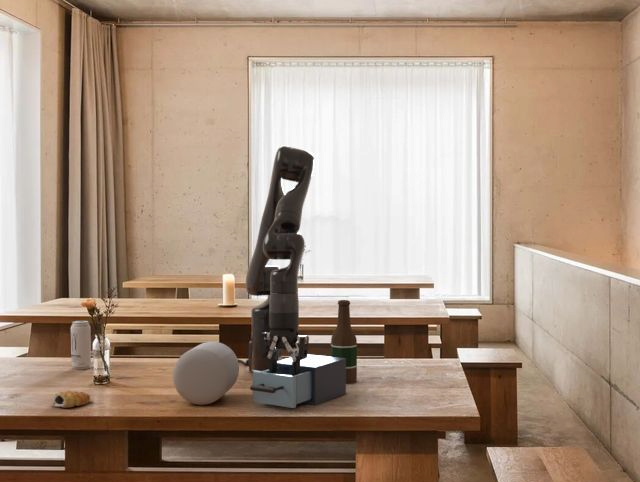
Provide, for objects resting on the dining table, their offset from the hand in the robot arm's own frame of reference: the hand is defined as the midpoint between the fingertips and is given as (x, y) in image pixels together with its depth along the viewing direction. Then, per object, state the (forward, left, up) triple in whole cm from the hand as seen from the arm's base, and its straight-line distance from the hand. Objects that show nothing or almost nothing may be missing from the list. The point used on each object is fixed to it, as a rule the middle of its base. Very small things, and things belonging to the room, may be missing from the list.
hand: (284, 373), depth 214 cm
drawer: (0, 0, -7) cm, 7 cm away
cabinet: (0, +12, -8) cm, 14 cm away
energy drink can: (-84, +8, -8) cm, 85 cm away
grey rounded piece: (-24, -3, -8) cm, 26 cm away
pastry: (-47, -29, -8) cm, 56 cm away
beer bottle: (-2, +34, -8) cm, 35 cm away
